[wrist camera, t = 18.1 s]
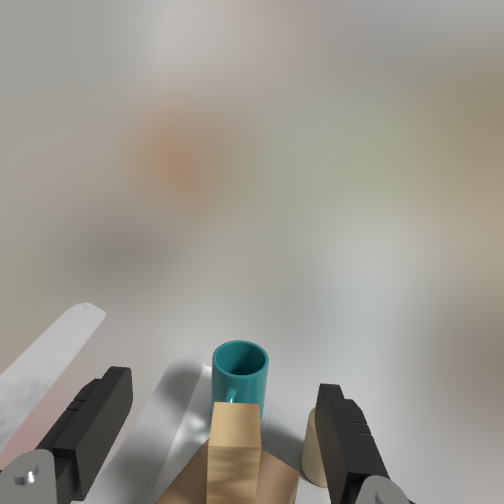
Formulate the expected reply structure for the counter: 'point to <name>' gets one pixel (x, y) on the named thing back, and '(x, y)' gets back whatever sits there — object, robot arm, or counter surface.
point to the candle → (313, 455)
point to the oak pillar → (233, 453)
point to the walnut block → (268, 485)
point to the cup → (239, 374)
